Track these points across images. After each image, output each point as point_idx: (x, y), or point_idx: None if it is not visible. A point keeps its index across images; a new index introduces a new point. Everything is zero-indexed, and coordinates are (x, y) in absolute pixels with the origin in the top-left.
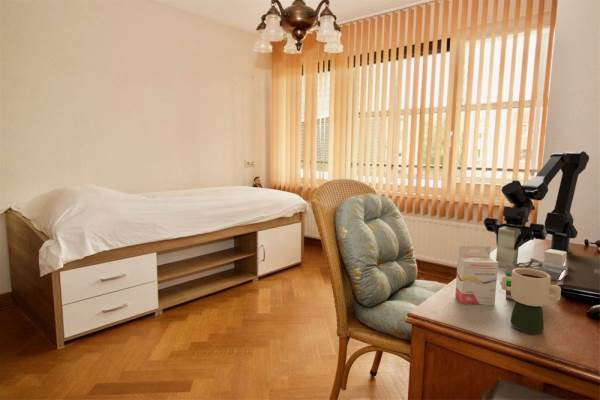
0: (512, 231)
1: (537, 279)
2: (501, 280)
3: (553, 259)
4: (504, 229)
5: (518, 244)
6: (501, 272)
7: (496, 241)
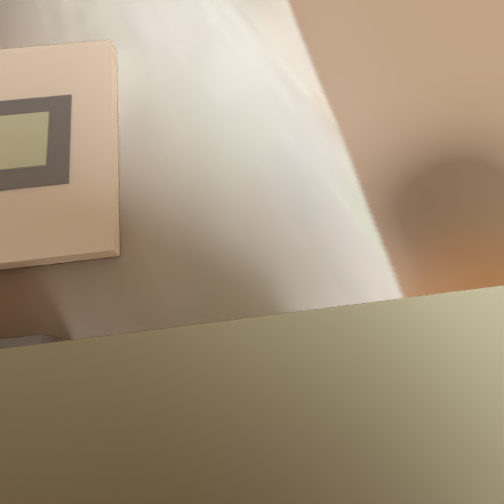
0: (53, 345)
1: None
2: (110, 49)
3: None
4: (369, 318)
5: None
6: (197, 221)
7: None
